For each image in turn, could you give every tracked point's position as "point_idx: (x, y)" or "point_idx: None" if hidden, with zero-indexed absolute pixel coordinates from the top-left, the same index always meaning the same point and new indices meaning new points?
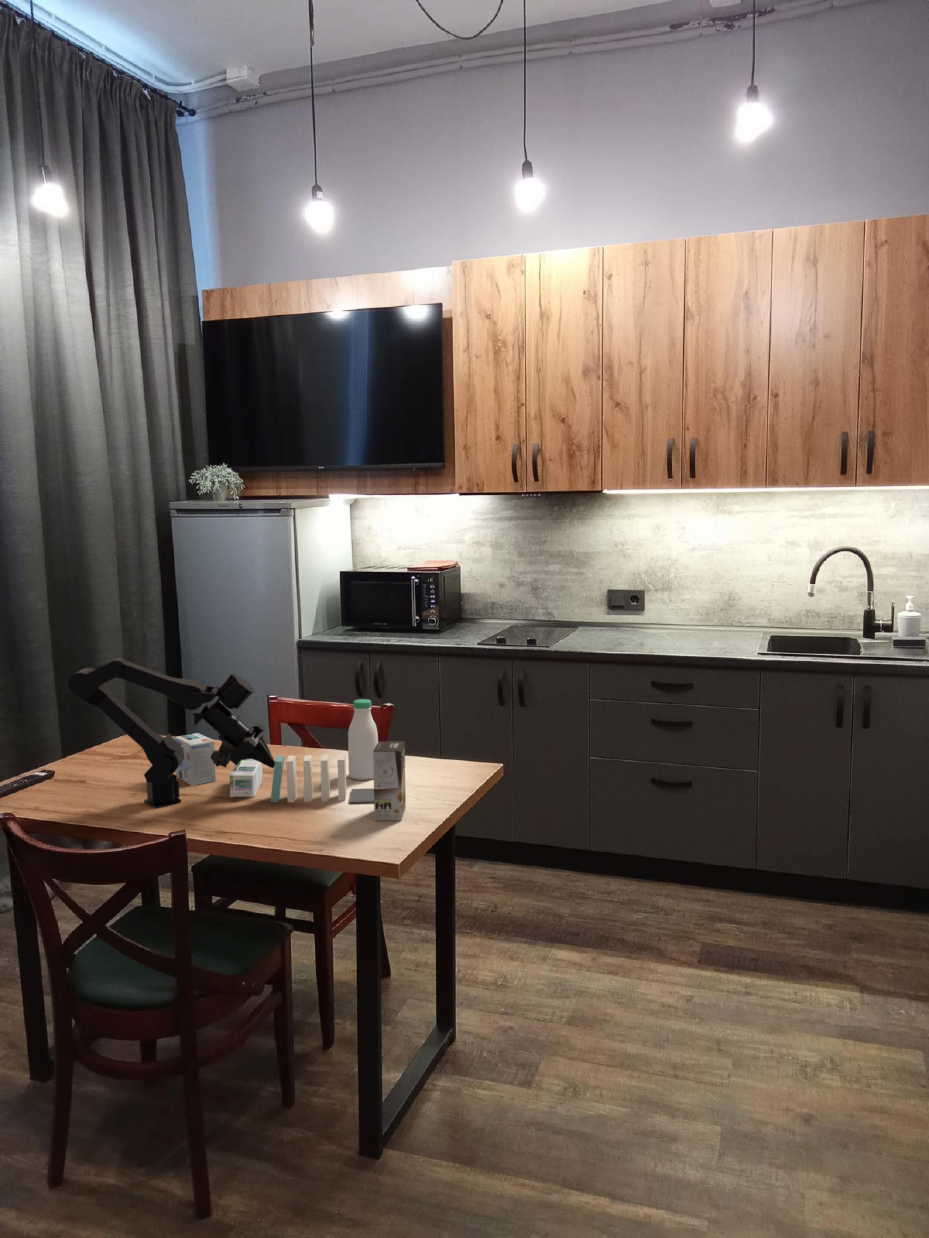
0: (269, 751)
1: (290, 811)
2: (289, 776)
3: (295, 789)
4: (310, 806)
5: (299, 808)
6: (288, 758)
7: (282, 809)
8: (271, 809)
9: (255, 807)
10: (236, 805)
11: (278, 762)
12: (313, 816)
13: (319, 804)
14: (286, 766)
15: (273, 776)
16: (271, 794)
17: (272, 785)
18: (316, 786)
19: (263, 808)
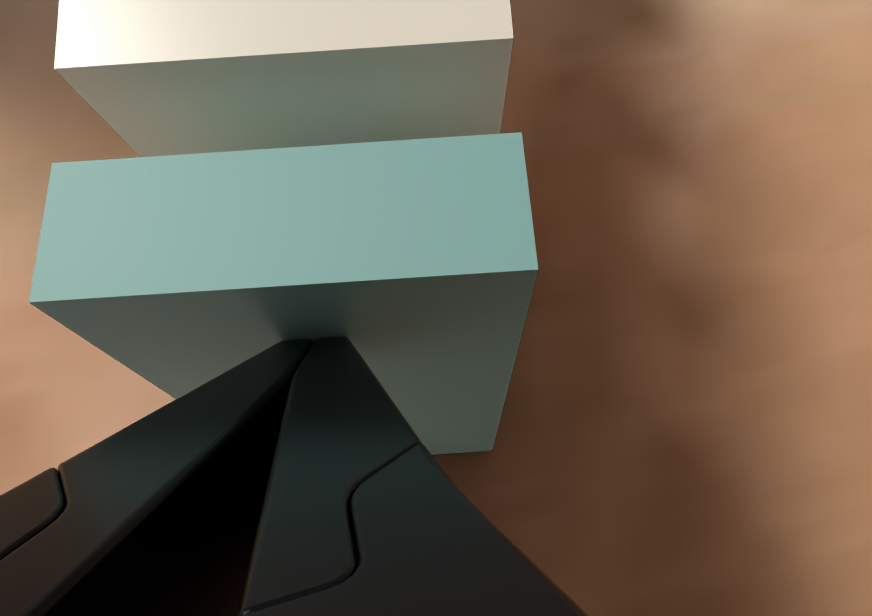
0: (138, 459)
1: (742, 212)
2: None
3: None
4: (595, 69)
5: (654, 149)
6: (283, 37)
7: (690, 293)
8: (697, 399)
9: (643, 580)
10: None
11: (528, 204)
12: (854, 6)
13: (540, 7)
14: (502, 99)
15: (508, 372)
16: (495, 432)
17: (503, 406)
18: (14, 107)
19: (671, 487)
